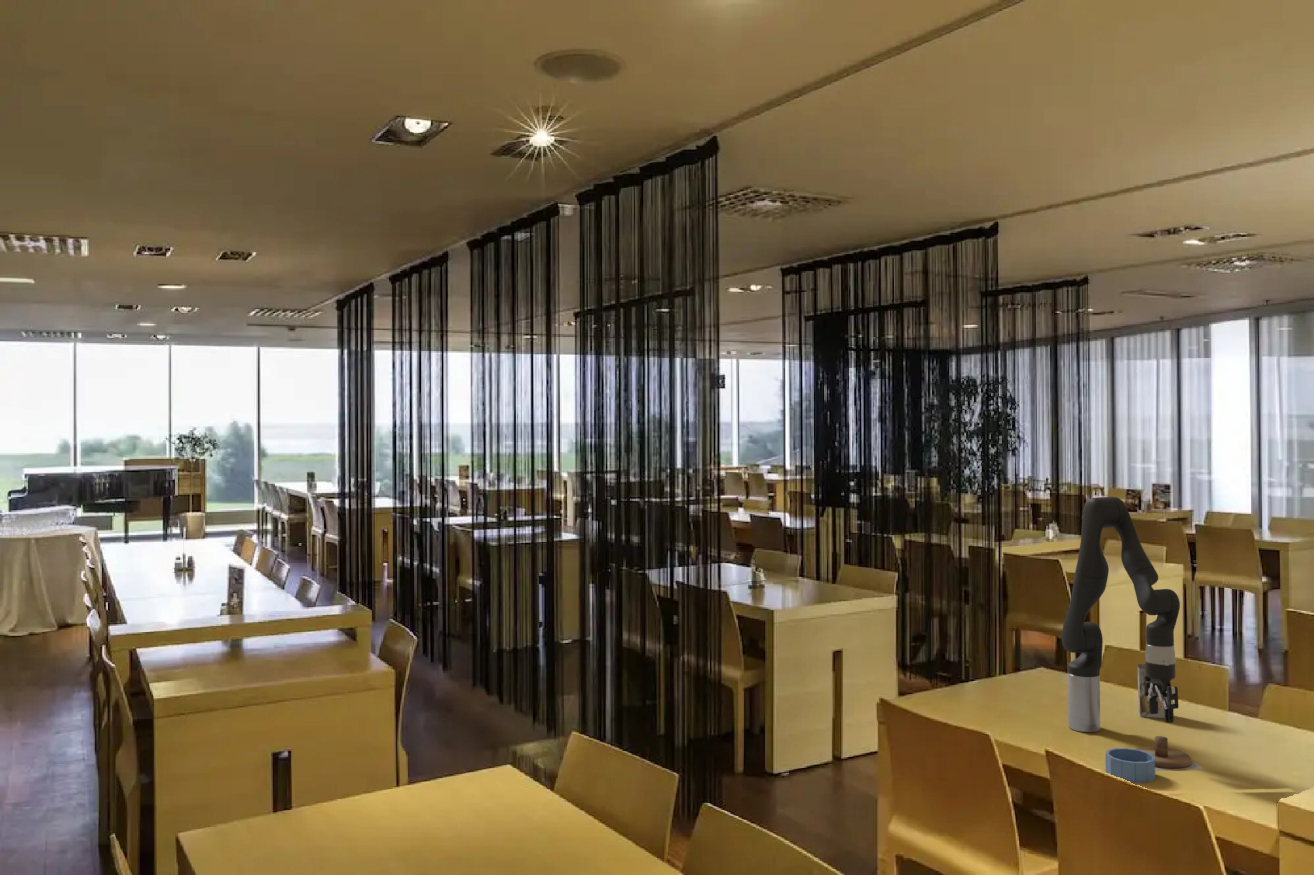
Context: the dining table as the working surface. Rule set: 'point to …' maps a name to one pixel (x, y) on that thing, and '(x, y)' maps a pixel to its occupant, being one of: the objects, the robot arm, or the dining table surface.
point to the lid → (1167, 755)
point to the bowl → (1131, 764)
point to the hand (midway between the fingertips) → (1161, 717)
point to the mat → (1193, 767)
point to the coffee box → (1143, 699)
